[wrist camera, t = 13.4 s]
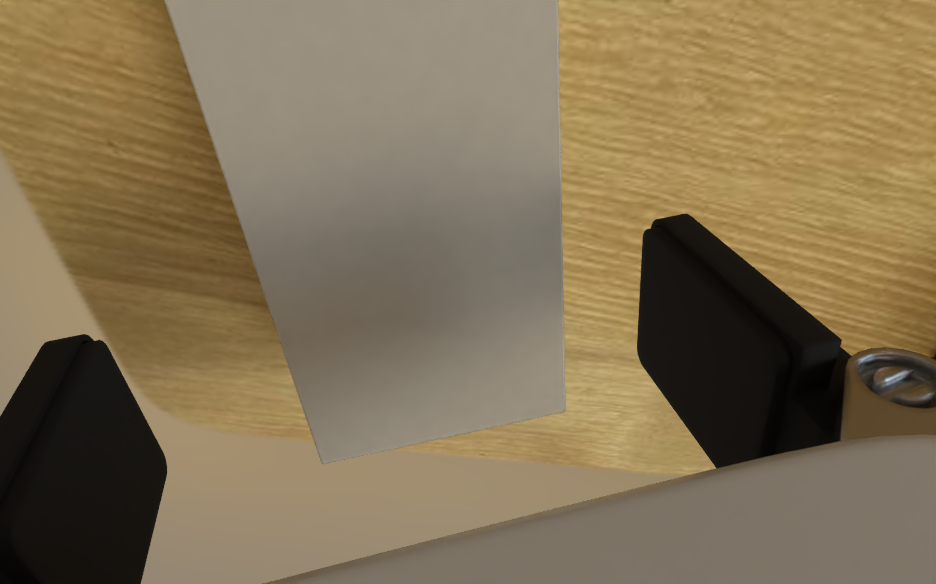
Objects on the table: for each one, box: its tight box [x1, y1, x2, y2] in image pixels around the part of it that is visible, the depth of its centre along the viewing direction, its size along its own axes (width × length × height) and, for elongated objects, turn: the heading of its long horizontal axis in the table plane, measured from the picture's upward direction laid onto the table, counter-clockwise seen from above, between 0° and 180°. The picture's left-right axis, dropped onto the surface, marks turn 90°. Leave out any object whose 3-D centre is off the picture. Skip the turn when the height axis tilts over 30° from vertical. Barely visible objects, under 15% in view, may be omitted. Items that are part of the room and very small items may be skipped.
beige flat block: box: [164, 0, 565, 464], centre depth 14 cm, size 12×6×2 cm, turn 6°
